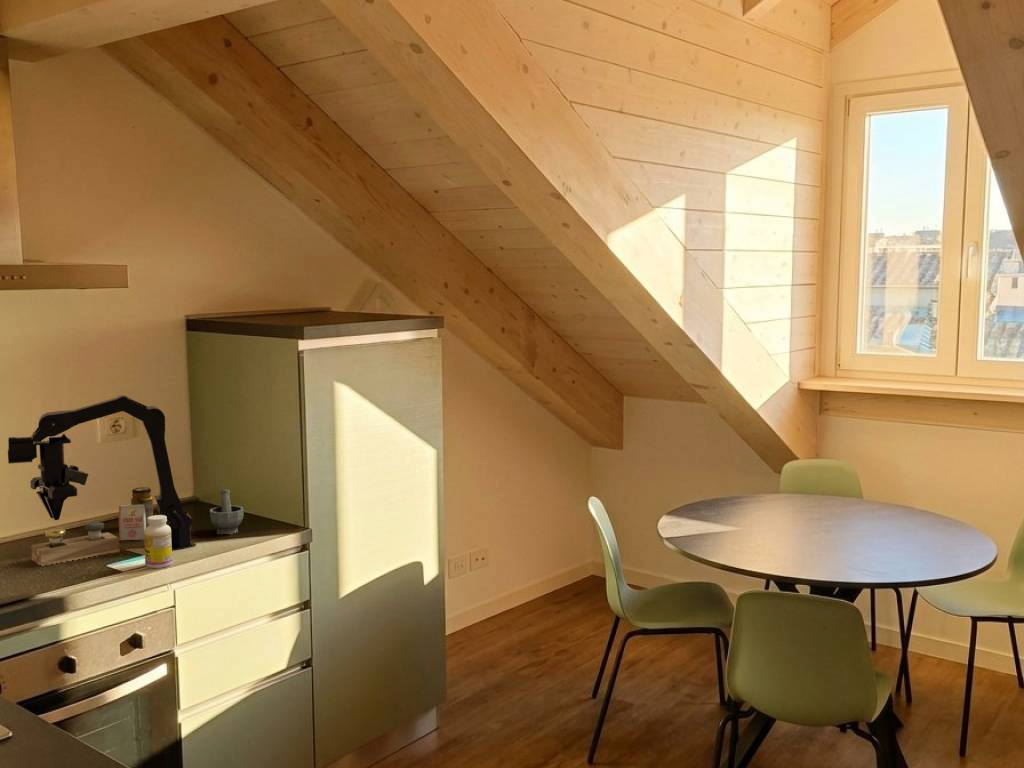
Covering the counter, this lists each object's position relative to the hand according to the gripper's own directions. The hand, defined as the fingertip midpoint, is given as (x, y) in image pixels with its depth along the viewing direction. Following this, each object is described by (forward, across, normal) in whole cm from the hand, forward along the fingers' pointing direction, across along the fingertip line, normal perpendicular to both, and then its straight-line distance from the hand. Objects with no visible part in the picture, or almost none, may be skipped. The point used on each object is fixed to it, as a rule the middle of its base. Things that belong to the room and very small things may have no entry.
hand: (54, 518), depth 257 cm
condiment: (+11, +17, -30) cm, 36 cm away
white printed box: (+11, +7, -23) cm, 27 cm away
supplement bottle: (+11, -23, -18) cm, 31 cm away
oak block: (+11, 0, -5) cm, 12 cm away
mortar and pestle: (+11, -3, -47) cm, 48 cm away
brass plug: (+7, 0, 0) cm, 7 cm away
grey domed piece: (+7, 0, -10) cm, 12 cm away
